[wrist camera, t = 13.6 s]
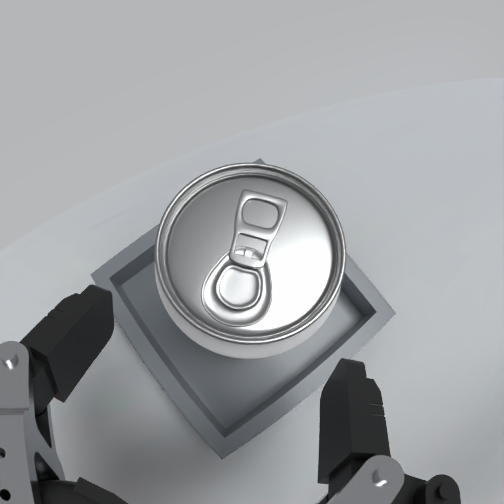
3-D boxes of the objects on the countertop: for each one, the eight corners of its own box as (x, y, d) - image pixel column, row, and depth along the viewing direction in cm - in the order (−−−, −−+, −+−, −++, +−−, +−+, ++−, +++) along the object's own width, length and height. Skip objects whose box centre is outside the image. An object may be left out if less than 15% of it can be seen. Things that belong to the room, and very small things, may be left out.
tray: (257, 180, 24) (260, 158, 21) (377, 319, 21) (395, 313, 18) (107, 284, 21) (90, 274, 18) (223, 445, 18) (221, 459, 15)
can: (182, 340, 19) (110, 319, 8) (211, 249, 21) (185, 134, 10) (279, 367, 19) (335, 384, 8) (302, 273, 21) (370, 182, 10)
